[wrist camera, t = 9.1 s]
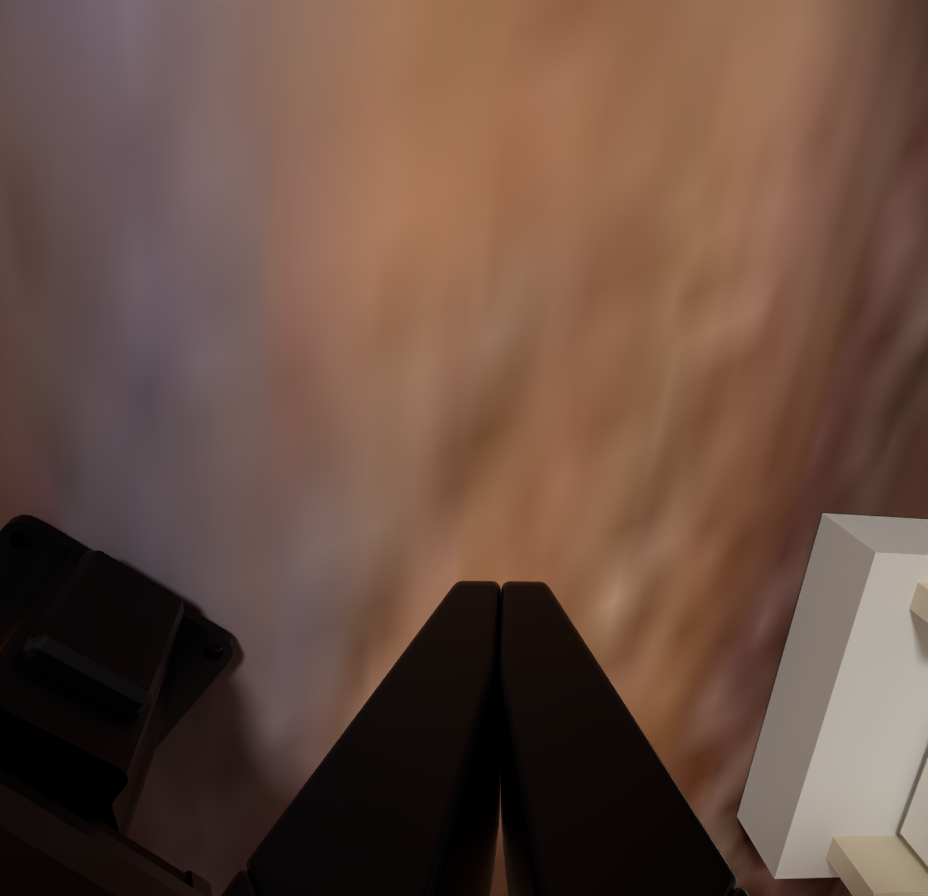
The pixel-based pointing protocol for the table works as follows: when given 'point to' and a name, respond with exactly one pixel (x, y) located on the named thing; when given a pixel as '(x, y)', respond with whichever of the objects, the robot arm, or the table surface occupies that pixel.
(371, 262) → the table surface
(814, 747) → the cream l-shaped bracket
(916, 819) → the off-white rectangular block
